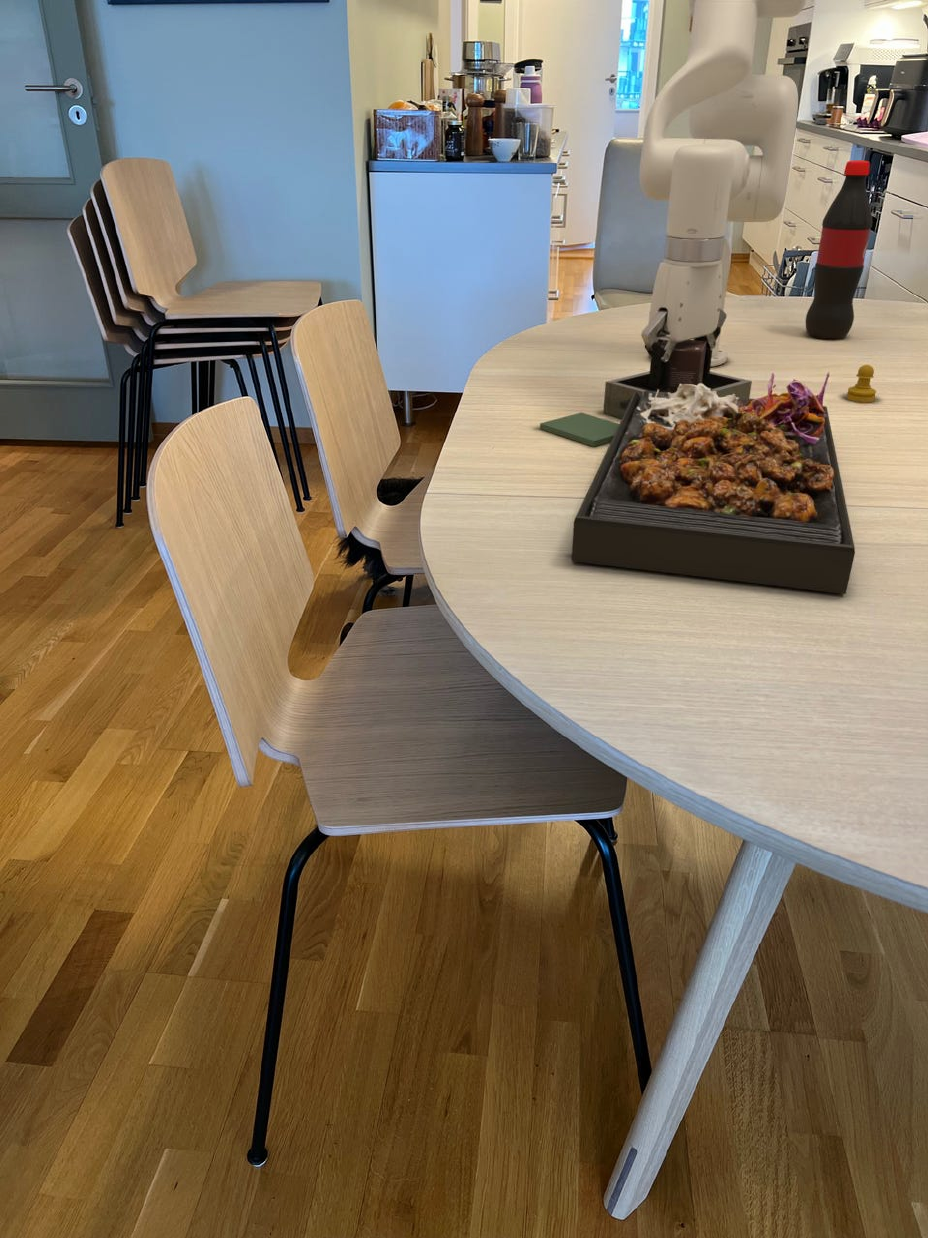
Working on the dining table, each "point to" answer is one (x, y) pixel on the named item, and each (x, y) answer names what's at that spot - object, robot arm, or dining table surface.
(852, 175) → the cola bottle
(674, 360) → the box
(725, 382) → the dark grey tray
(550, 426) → the mat
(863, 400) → the chess piece
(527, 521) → the dining table surface
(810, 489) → the food platter
